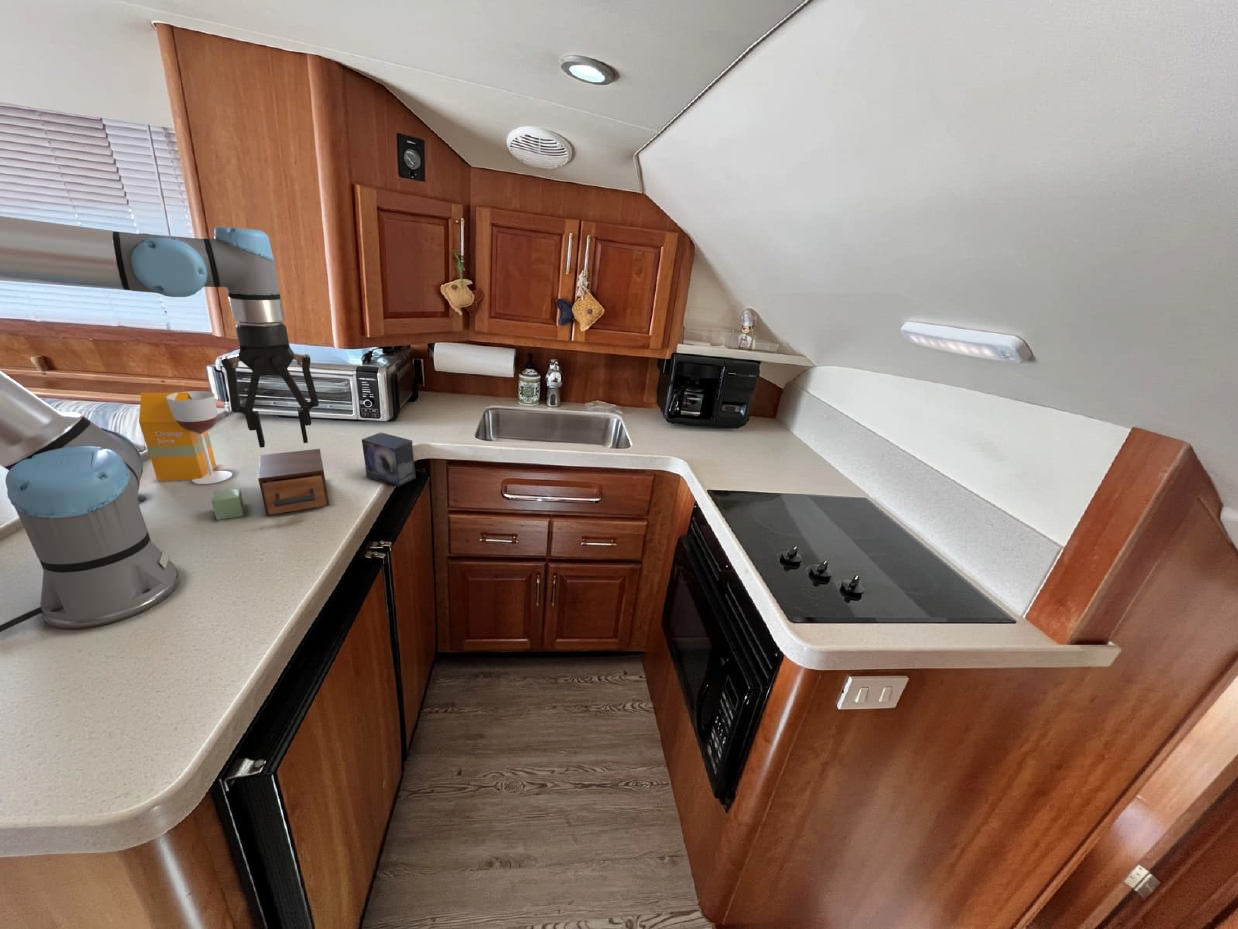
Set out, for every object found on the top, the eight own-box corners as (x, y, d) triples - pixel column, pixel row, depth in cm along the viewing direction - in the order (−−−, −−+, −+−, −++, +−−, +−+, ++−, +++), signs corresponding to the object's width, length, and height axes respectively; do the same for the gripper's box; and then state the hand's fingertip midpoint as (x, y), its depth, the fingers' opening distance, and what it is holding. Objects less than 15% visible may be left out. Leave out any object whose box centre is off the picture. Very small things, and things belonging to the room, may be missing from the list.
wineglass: (211, 486, 112) (188, 402, 105) (180, 480, 114) (155, 397, 106) (243, 473, 120) (223, 394, 112) (213, 468, 121) (192, 389, 113)
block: (216, 520, 100) (211, 501, 98) (218, 510, 103) (213, 492, 102) (243, 515, 102) (238, 497, 100) (244, 506, 106) (240, 488, 104)
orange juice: (174, 468, 119) (150, 388, 112) (217, 466, 122) (196, 388, 114) (156, 481, 113) (130, 397, 105) (203, 479, 115) (180, 397, 107)
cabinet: (329, 505, 109) (323, 470, 106) (266, 515, 103) (257, 478, 100) (325, 481, 119) (319, 448, 116) (267, 489, 113) (260, 455, 110)
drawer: (328, 515, 103) (323, 486, 101) (268, 525, 98) (261, 495, 95) (322, 482, 117) (318, 456, 114) (269, 490, 111) (263, 462, 109)
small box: (364, 478, 123) (359, 438, 119) (384, 469, 128) (380, 431, 124) (397, 487, 119) (393, 447, 115) (417, 478, 125) (413, 439, 121)
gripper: (321, 320, 96) (338, 431, 105) (193, 319, 86) (224, 442, 95) (324, 326, 90) (341, 443, 99) (187, 326, 80) (220, 456, 89)
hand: (284, 442), depth 97 cm, fingers open, 6 cm apart
